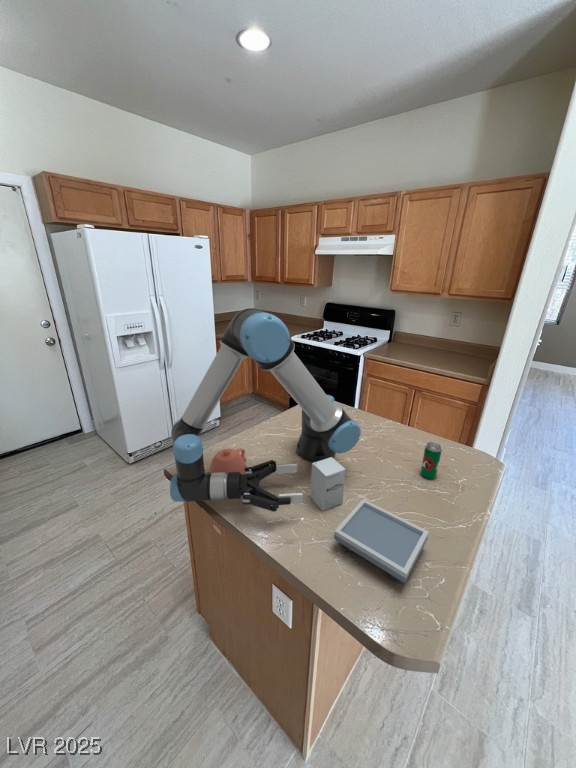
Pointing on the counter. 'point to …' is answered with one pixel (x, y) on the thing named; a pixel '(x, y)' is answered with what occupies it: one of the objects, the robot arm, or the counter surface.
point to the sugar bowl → (228, 461)
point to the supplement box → (327, 483)
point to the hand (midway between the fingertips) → (299, 481)
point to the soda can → (431, 460)
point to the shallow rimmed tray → (382, 539)
